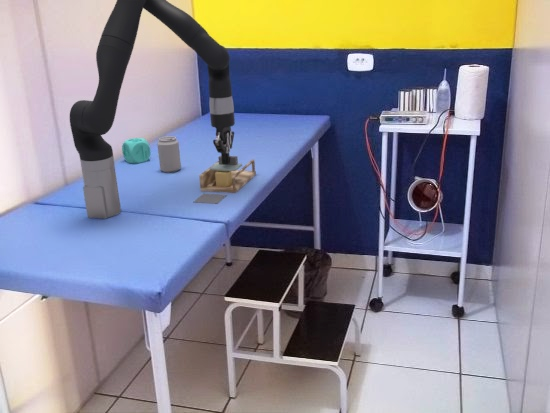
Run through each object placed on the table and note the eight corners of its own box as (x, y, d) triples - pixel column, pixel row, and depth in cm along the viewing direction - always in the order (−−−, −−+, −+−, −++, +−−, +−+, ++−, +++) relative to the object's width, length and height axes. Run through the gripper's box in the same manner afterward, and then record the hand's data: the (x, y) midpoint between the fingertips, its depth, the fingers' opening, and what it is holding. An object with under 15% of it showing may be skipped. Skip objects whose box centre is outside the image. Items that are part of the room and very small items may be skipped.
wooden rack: (236, 194, 190) (234, 177, 188) (200, 192, 193) (199, 175, 191) (256, 175, 207) (255, 159, 205) (223, 173, 211) (222, 158, 209)
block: (227, 188, 194) (226, 173, 192) (216, 188, 195) (215, 173, 193) (232, 184, 197) (231, 170, 195) (220, 184, 198) (219, 169, 197)
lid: (235, 171, 192) (234, 161, 191) (209, 170, 195) (209, 160, 194) (242, 165, 198) (241, 156, 197) (217, 164, 201) (216, 155, 200)
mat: (217, 205, 181) (217, 203, 180) (193, 203, 183) (192, 202, 183) (227, 196, 188) (227, 194, 188) (203, 195, 190) (203, 193, 190)
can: (177, 173, 214) (173, 140, 210) (157, 173, 215) (153, 140, 211) (184, 167, 221) (181, 135, 217) (164, 167, 222) (161, 135, 218)
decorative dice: (132, 164, 227) (130, 144, 224) (123, 161, 233) (120, 140, 230) (151, 160, 232) (149, 140, 229) (142, 156, 238) (139, 136, 235)
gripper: (225, 115, 183) (229, 170, 189) (240, 106, 195) (243, 158, 201) (202, 115, 185) (207, 169, 191) (218, 106, 197) (222, 157, 203)
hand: (226, 163), depth 196 cm, fingers closed
